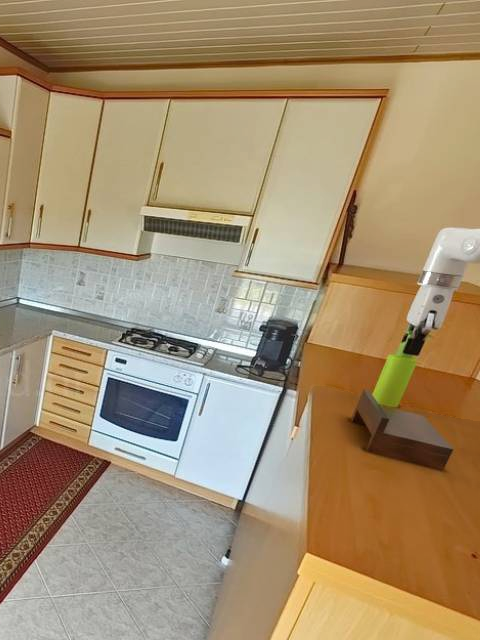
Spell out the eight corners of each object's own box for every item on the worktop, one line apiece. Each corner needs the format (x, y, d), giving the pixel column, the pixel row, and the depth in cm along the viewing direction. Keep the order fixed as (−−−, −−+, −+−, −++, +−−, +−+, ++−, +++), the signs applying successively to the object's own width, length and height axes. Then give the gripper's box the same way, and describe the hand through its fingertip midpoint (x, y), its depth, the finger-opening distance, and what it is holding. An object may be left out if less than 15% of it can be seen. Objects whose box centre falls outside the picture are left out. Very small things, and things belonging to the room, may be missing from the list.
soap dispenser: (406, 410, 127) (439, 336, 120) (374, 404, 129) (405, 331, 122) (396, 403, 132) (427, 331, 125) (366, 397, 134) (395, 327, 127)
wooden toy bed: (413, 435, 111) (429, 403, 108) (442, 472, 94) (461, 435, 91) (350, 420, 116) (363, 389, 113) (366, 452, 99) (382, 417, 96)
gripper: (471, 286, 110) (436, 363, 117) (447, 280, 124) (417, 349, 130) (429, 281, 113) (397, 356, 120) (410, 275, 127) (382, 343, 134)
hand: (408, 352), depth 125 cm, fingers closed on soap dispenser, 3 cm apart
